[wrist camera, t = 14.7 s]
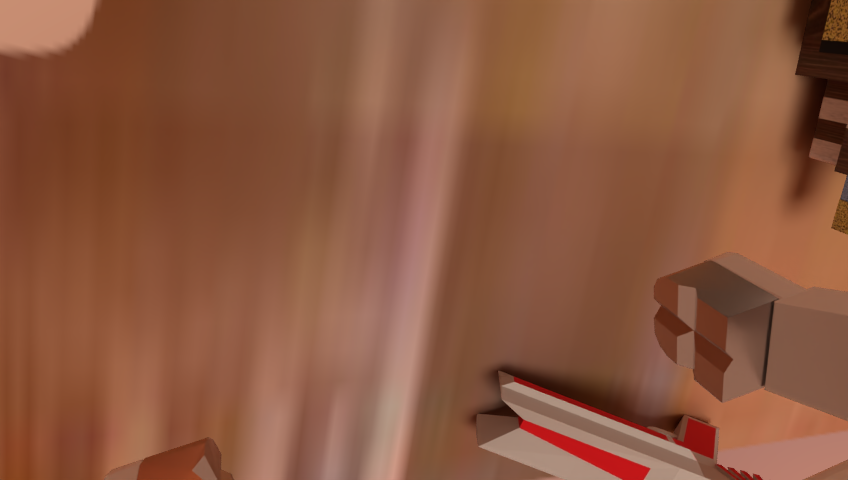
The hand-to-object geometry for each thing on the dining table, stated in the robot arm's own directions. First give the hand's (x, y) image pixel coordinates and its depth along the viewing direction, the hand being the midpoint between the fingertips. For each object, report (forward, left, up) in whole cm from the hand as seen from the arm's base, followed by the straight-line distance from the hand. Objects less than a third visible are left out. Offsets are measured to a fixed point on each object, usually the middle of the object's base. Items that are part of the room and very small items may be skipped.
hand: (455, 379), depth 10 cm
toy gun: (+21, -38, -32) cm, 53 cm away
